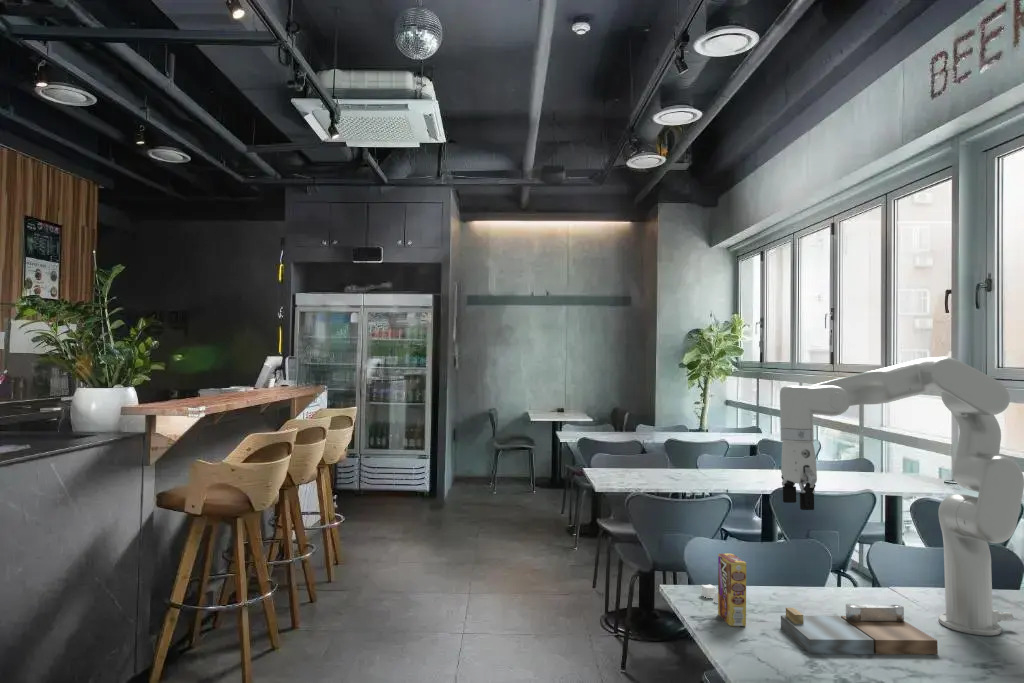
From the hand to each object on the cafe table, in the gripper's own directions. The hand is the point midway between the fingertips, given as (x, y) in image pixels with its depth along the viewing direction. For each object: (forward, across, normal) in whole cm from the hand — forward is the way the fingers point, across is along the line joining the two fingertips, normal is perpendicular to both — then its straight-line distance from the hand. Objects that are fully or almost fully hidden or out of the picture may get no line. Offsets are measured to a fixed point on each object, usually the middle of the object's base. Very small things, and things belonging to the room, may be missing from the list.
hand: (798, 506), depth 162 cm
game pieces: (+29, +17, +15) cm, 37 cm away
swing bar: (+25, -5, -16) cm, 30 cm away
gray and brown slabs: (+29, -9, -9) cm, 31 cm away
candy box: (+29, +3, +16) cm, 33 cm away
